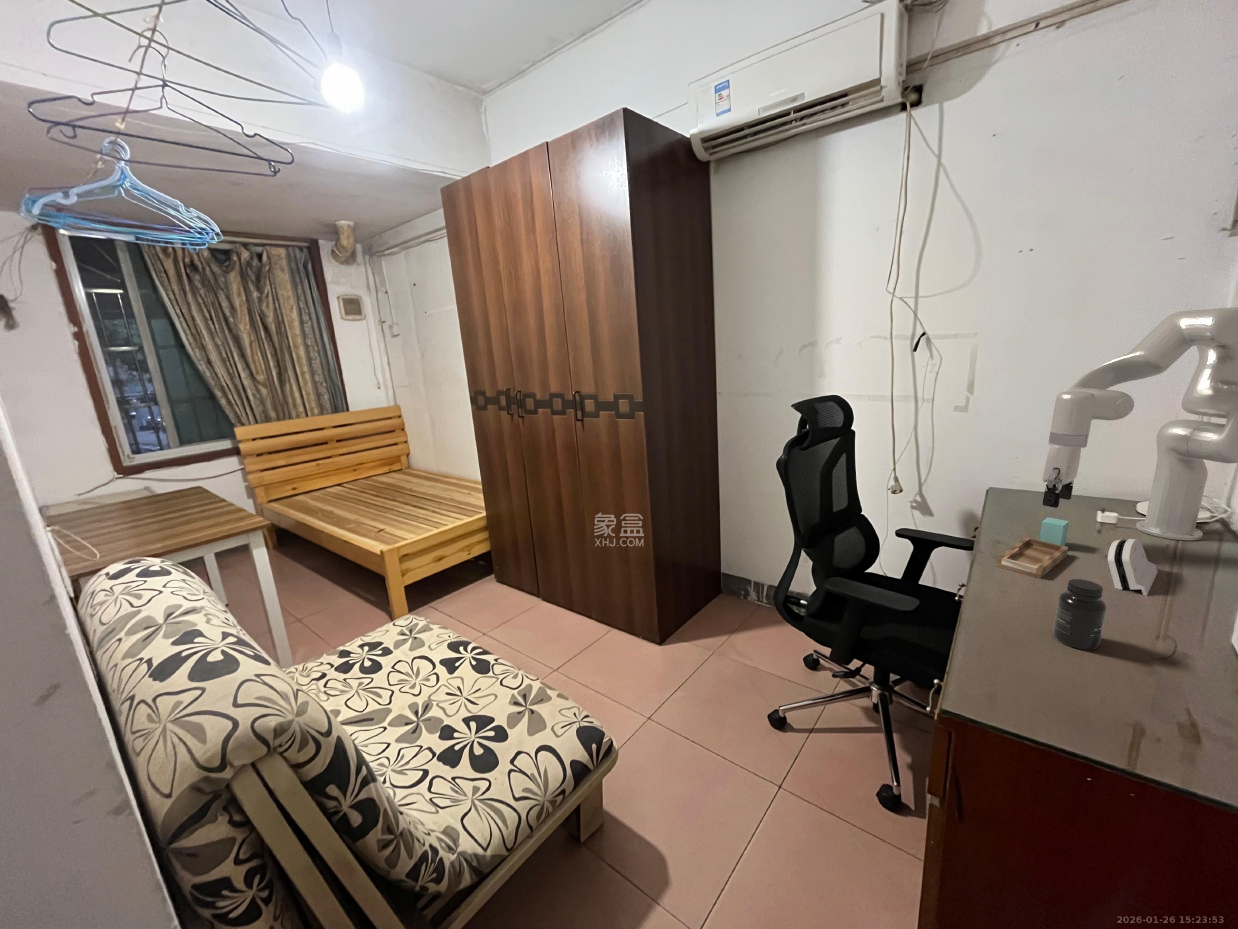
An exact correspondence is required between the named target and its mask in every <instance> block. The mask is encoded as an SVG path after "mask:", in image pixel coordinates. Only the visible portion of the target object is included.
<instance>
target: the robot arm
mask: <svg viewBox="0 0 1238 929" xmlns="http://www.w3.org/2000/svg"><path fill="white" fill-rule="evenodd" d="M1192 347H1196V349H1197V352H1198V362H1197V365H1196V367H1195V370H1194V373H1193V374H1192V376H1191V379H1190V381H1189V383H1188V385H1187V388H1186V389H1185V392H1184V394H1183V396H1182V400H1181V404H1180V405H1181V408H1182V410H1183V411H1184V412H1186V413H1188V414H1191V415H1195V416H1199V417H1200V416H1201V417H1209V418H1215V419H1217V418H1218V419H1224V420H1225V419H1226V421H1225V423H1218V422H1211V421H1205V420H1198V419H1197V420H1196V419H1175V420H1172V421H1171V420H1170V421H1168V422H1166V423H1165V424H1163V425H1162V426H1161V427H1160V428H1159V430H1158V431H1157V434H1156V451H1157V452H1156V454H1157V455H1156V456H1157V458H1156V465H1155V471H1154V476H1153V480H1152V485H1151V491H1150V495H1149V500H1148V504H1147V509H1146V515H1145V520H1140V521H1137V522H1136V524H1135V528H1136V529H1137V530H1139V531H1140V532H1142V533H1145V534H1147V535H1150V536H1154V537H1159V538H1163V539H1169V540H1177V541H1197V540H1200V539H1202V538H1203V535H1204V533H1203V532H1202V531H1201V530H1200V529H1197V528H1196V527H1197V526H1196V525H1197V522H1198V519H1199V518H1198V517H1199V513H1200V509H1201V507H1202V506H1201V504H1202V500H1203V496H1204V492H1205V488H1206V484H1207V481H1208V476H1209V475H1208V468H1207V466H1206V462H1205V461H1210V462H1215V463H1223V464H1237V463H1238V307H1220V308H1219V307H1217V308H1211V309H1210V308H1208V309H1190V310H1181V311H1177V312H1174V313H1171V314H1169V315H1167V317H1165V318H1164V319H1162V321H1160V322H1159V323H1158V325H1157V326H1155V327H1154V328H1153V329H1152V330H1151V331H1150V332H1149V333H1147V335H1146V336H1144V338H1143V339H1141V340H1140V342H1138V343H1137V344H1136V345H1135V346H1134V347H1133V348H1132V349H1131V350H1130V351H1128V352H1127V353H1126V354H1123V355H1121V356H1118V357H1116V358H1114V359H1112V360H1109V361H1108V362H1105V363H1104V364H1101V365H1099V366H1096V367H1094V368H1093V369H1091V370H1089V371H1088V372H1086V373H1084V374H1083V375H1082V376H1081V377H1080V378H1079V379H1078V380H1076V381H1075V382H1074V383H1073V385H1071V386H1070V387H1069V389H1068V390H1067V391H1063V392H1062V391H1061V392H1059V393H1058V394H1057V395H1056V397H1055V402H1054V407H1053V408H1054V409H1053V414H1052V420H1051V425H1050V430H1049V435H1048V436H1049V437H1048V442H1047V444H1048V445H1049V447H1050V448H1049V450H1048V453H1047V457H1046V459H1045V460H1046V461H1045V465H1044V468H1043V472H1042V473H1043V474H1042V480H1041V481H1042V482H1043V483H1045V482H1046V483H1045V484H1046V485H1045V488H1044V492H1043V499H1042V506H1044V507H1045V506H1046V507H1050V508H1055V509H1058V508H1059V506H1060V500H1061V499H1062V500H1067V501H1069V500H1071V499H1072V494H1073V488H1074V483H1075V481H1074V480H1075V479H1076V477H1077V475H1078V473H1079V472H1078V471H1079V466H1080V460H1081V453H1082V449H1084V448H1087V445H1088V441H1089V437H1090V431H1091V426H1092V421H1093V420H1102V421H1103V420H1104V421H1117V420H1121V419H1124V418H1125V417H1127V416H1129V415H1130V414H1131V413H1132V412H1133V410H1134V408H1135V401H1134V398H1133V397H1132V396H1131V395H1130V394H1128V393H1126V392H1124V391H1120V390H1112V389H1110V388H1112V387H1114V386H1117V385H1120V384H1121V385H1122V384H1123V383H1128V382H1133V381H1138V380H1143V379H1148V378H1151V377H1155V376H1158V375H1161V374H1162V373H1164V372H1166V371H1167V370H1168V369H1169V368H1170V367H1172V365H1173V364H1175V363H1176V361H1178V360H1179V359H1180V358H1181V357H1182V356H1184V354H1185V353H1186V352H1188V350H1190V349H1191V348H1192Z"/></svg>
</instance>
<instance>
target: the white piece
mask: <svg viewBox="0 0 1238 929" xmlns="http://www.w3.org/2000/svg"><path fill="white" fill-rule="evenodd" d="M1109 546H1110V547H1109V549H1108V553H1107V563H1108V567H1109V571H1110V574H1111V578H1112V582H1113V586H1114V588H1115V589H1116V588H1118V589H1117V590H1123V589H1124V588H1127V589H1129V590H1130V591H1131V590H1133V591H1134V590H1141V593H1142V595H1143V596H1146V597H1147V596H1148V594H1149V592H1150V589H1151V587H1152V585H1153V583H1154V582H1155V579H1156V576H1157V574H1158V568H1157V566H1156V564H1155V563H1152V562H1151V561H1149V560H1148V557H1147V555H1146V551H1145V550H1144V547H1143V544H1142V542H1141V539H1134V538H1129V539H1125V538H1122V539H1117V540H1113V541H1112V543H1111V545H1109Z"/></svg>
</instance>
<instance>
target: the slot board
mask: <svg viewBox="0 0 1238 929" xmlns="http://www.w3.org/2000/svg"><path fill="white" fill-rule="evenodd" d="M1068 550H1069V547H1068V546H1066V545H1065V546H1061V545H1057V544H1052V543H1048V542H1044V541H1039V539H1035V538H1031V537H1024V538H1023V539H1021V540H1020V541H1019V542H1017V543H1016V544H1015V545H1012V547H1010V548H1009V549H1008V550H1006V551H1004V552H1003V553H1002V554H1000V555H999V556H998V557H997V558H996V565H995V566H996V567H997V568H1002V569H1004V570H1008V571H1011V572H1015V573H1018V574H1023V575H1026V576H1030V577H1032V576H1033V578H1036V577H1037V578H1036V579H1041V577H1042V578H1043V577H1045V575H1046V574H1047V573H1049V572H1050V571H1051V570H1052V569H1053V568H1054V567H1056V565H1058V564H1059V563H1060V562H1061V561H1062V560H1064V558H1066V557H1067V555H1068ZM1048 571H1049V572H1048Z"/></svg>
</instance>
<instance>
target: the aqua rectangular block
mask: <svg viewBox="0 0 1238 929" xmlns="http://www.w3.org/2000/svg"><path fill="white" fill-rule="evenodd" d="M1069 522H1070V521H1069V520H1063V519H1058V518H1054V517H1050V516H1049V517H1048V516H1047V517H1046V518H1045V519H1044V520H1042V522H1041V525H1040V532H1039V533H1040V534H1039V539H1038V540H1039V541H1044V542H1048V543H1052V544H1057V545H1061V546H1065V547H1066V544H1067V543H1066V541H1067V537H1068V529H1069Z"/></svg>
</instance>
